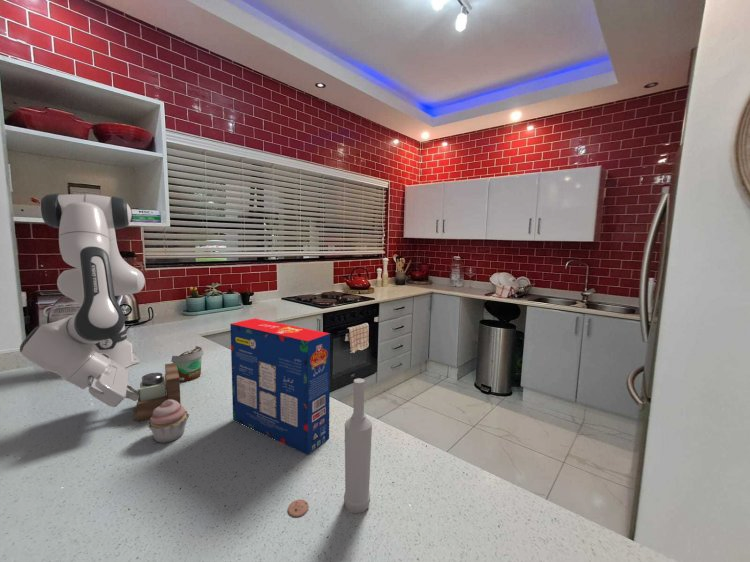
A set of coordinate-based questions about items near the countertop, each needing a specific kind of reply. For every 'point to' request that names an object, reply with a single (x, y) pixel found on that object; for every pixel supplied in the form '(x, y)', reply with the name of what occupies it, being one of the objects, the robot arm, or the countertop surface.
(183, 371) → the food container
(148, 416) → the walnut mount
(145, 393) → the sliding knob
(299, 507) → the cookie
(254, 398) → the pasta box
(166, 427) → the cupcake
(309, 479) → the countertop surface
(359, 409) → the bottle
